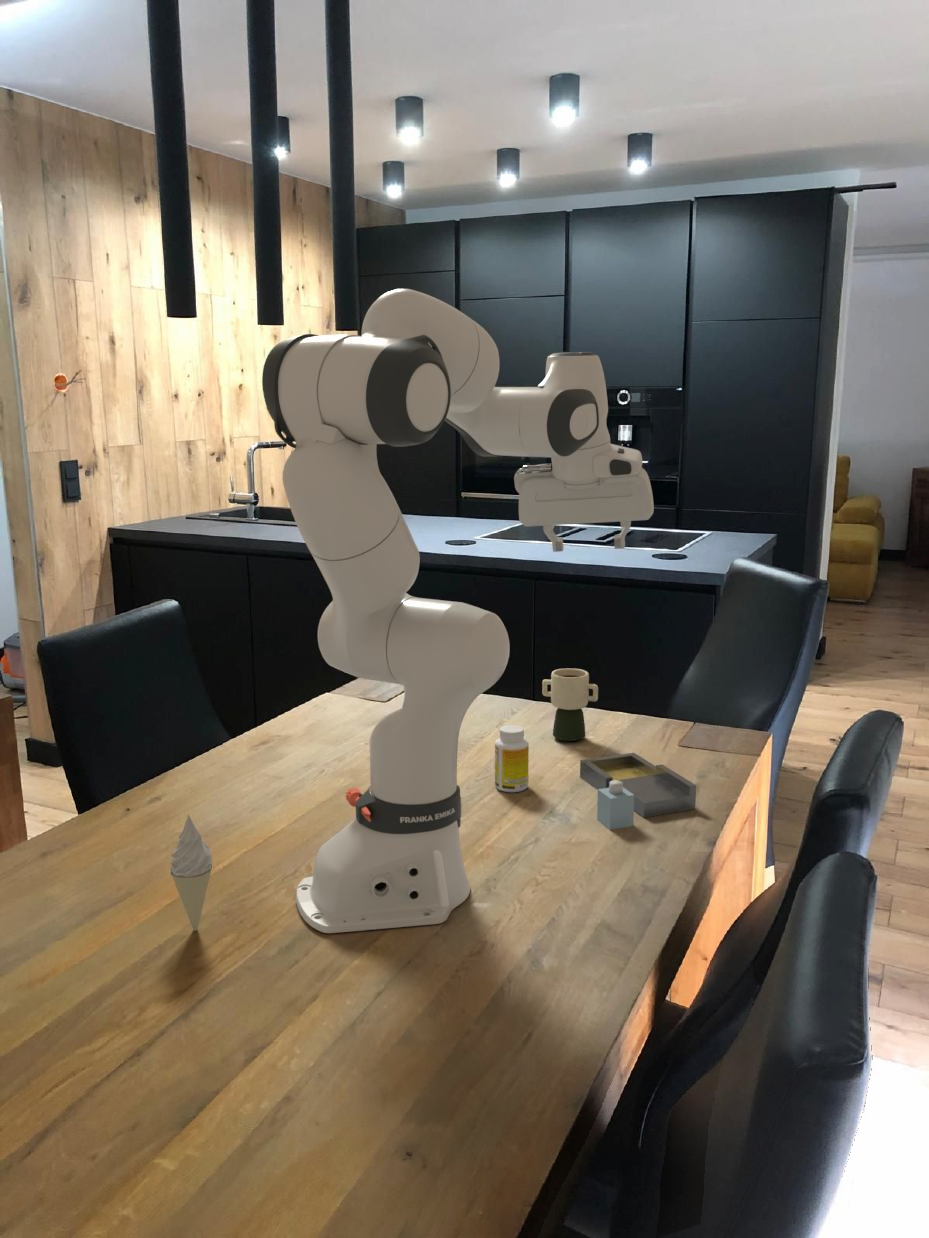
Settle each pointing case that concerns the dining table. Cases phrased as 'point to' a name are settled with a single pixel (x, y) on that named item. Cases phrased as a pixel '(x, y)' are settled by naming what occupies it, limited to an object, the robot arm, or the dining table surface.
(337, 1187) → the dining table surface
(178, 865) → the ice cream cone
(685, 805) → the rail
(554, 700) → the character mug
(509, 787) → the supplement bottle
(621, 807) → the light blue tall block
